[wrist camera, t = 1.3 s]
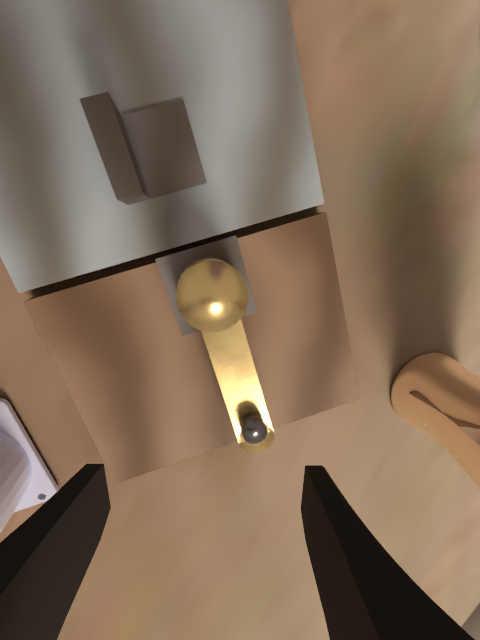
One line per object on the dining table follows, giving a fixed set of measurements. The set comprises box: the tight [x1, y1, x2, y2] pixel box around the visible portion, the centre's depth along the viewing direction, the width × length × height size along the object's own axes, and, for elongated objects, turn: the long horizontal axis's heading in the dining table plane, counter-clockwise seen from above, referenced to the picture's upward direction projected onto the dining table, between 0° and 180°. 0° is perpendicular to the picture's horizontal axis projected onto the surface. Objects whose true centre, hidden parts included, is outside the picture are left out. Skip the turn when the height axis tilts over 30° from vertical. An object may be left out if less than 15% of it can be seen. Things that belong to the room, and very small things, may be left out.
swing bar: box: [176, 256, 274, 454], centre depth 18 cm, size 12×4×3 cm, turn 15°
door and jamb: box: [0, 0, 360, 484], centre depth 17 cm, size 18×26×4 cm
